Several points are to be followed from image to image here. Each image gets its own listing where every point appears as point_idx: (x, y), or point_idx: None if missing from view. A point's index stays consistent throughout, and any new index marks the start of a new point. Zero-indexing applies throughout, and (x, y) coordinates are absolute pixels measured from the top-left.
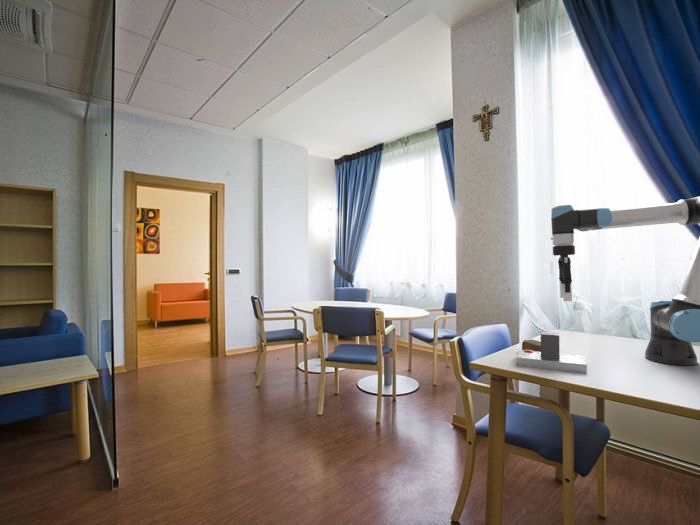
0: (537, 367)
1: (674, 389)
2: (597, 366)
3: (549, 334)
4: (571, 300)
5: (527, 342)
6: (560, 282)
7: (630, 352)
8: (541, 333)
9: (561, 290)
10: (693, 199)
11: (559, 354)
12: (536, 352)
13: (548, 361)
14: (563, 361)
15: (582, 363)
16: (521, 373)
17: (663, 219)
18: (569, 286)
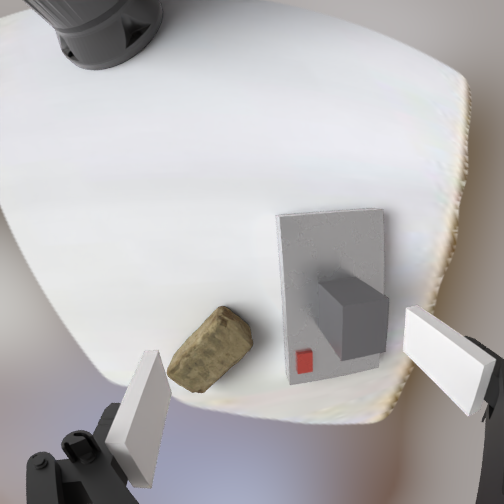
0: None
1: (393, 61)
2: (285, 179)
3: (380, 328)
4: (420, 309)
5: (215, 381)
6: (150, 480)
7: (56, 105)
8: (371, 353)
9: (159, 423)
10: None
11: (361, 280)
12: (303, 341)
13: None
14: (376, 265)
15: (376, 219)
16: None
17: None
18: (495, 356)
